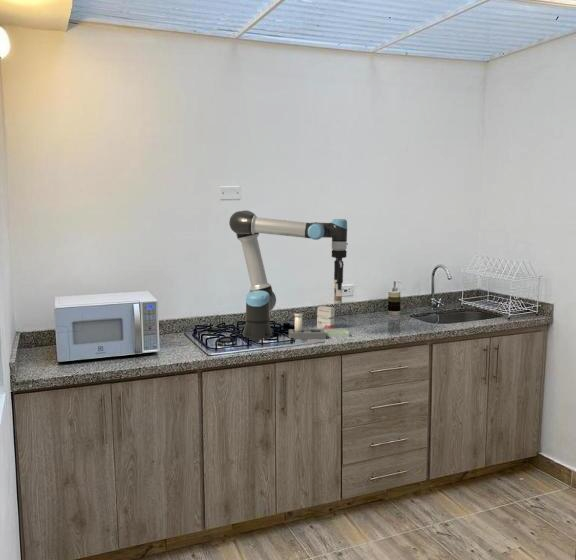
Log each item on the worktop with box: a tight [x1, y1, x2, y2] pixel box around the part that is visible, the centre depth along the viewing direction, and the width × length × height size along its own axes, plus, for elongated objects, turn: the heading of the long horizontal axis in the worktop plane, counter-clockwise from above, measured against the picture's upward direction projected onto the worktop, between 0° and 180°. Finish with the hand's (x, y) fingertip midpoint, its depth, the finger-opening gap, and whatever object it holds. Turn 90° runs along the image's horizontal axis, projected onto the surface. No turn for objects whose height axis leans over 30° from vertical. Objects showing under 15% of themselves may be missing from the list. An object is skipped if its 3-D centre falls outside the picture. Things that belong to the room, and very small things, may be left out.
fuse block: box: [288, 328, 327, 340], centre depth 304 cm, size 18×9×4 cm, turn 95°
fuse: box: [294, 312, 304, 332], centre depth 303 cm, size 4×4×12 cm
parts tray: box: [324, 329, 351, 338], centre depth 311 cm, size 12×9×2 cm
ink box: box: [316, 305, 336, 329], centre depth 328 cm, size 9×5×12 cm, turn 58°
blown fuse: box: [333, 279, 343, 305], centre depth 307 cm, size 4×4×12 cm
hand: (338, 295), depth 308 cm, fingers closed on blown fuse, 4 cm apart
